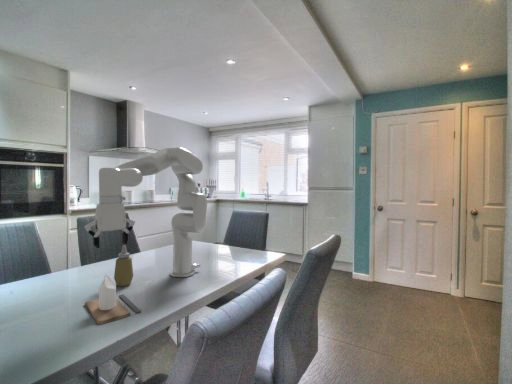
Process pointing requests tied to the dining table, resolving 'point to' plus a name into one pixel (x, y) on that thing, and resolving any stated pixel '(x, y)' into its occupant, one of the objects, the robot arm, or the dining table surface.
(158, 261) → the dining table surface
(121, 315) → the board
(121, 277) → the squeeze bottle
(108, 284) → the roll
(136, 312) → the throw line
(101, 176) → the robot arm
